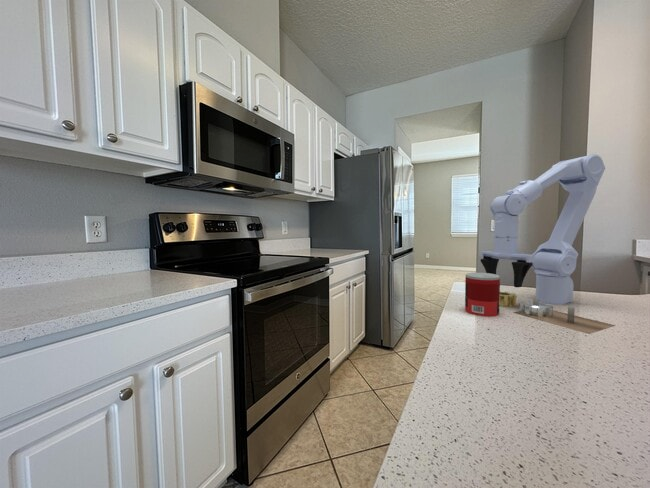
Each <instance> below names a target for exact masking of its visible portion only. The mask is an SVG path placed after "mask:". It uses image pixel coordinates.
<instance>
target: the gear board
mask: <svg viewBox="0 0 650 488" xmlns="http://www.w3.org/2000/svg"><path fill="white" fill-rule="evenodd" d="M532 301H533V305H536V306H539V303H540V301H539V300H536V298H534V299H532ZM575 309H576V307H573V306H572V307H571V306H568V307H567V313H565V312H561V311H558V310H554V309H553V315H552V317H546V316H544V317H543V318H541V317H537V316H533V315H530V316H528V315H525V313H520V312H519V310H517V311H514V312H513V311H512V313H513V314H517V315H521V316H524V317H527V318H531V319H534V320H539V321H541V322H545V323H548V324H552V325H555V326H559V327H563V328H566V329H571V330H574V331H578V332H581V333H583V334H584V333H585V334H589V335H591V334H594V333H597V332H600V331H602V330H606V329H610V328H613V327H615V326H616V325H615V324H611V323H608V322H603V321H599V320H596V319H591V318H587V317H583V316H578V315H575V314H576V313H575V312H576V311H575Z"/></svg>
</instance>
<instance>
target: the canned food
mask: <svg viewBox="0 0 650 488" xmlns="http://www.w3.org/2000/svg"><path fill="white" fill-rule="evenodd" d="M500 276H501V275H498V274H497V273H496V274H490V273H486V272H469V273H468V272H467V273H465V279H464V281H465V283H464V285H465V286H464V287H465V290H464V292H465V293H464V297H465V299H464V300H465V301H464V311H465V312H466V313H468V314H471V315H475V316H479V317H486V318H487V317H488V318H490V317H497V316H499V315H500V305H499V299H500V292H501V291H500V290H501V289H500V288H501V277H500Z"/></svg>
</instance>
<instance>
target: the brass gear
mask: <svg viewBox="0 0 650 488" xmlns="http://www.w3.org/2000/svg"><path fill="white" fill-rule="evenodd" d="M517 296H518V295H517V294H516V293H514V292H513V293H511V292H509V291H500V299H499V307H508V308H513V307H517Z"/></svg>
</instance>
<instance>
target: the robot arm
mask: <svg viewBox="0 0 650 488" xmlns="http://www.w3.org/2000/svg"><path fill="white" fill-rule="evenodd" d="M605 170H606V166H605V164H604V161H603V158H602V157H601V156H600V155H599V154H597V153H590V154H588V155H585V156H580V157H576V158H572V159H568V160H567V159H566V160H561V161H558V162H557V163H555V164H553V165H552V166H551V168H549V169H548V170H546V171H545V172H544V173H543V174H541V175H540V176H538V177H537V178H536V179H534V180H530V179H529V180H522V181H520V182H519V183H518V184H519V185H518V186H516V187H515V188H513V189H508V190H507V191H506V194H504V195H500V196H497V197H495V198H494V199H493V201H492V202H491V205H489V210H490V212H491V214H492V216H493V217H492V220H493V222H494V228H493V250H480V251H479V257H480V258H481V259H480V262H481V264H482V266H483V268H484V270H485V273H490V274H496V275H497V268H498V265H499V261H500V260H506V261H507V260H508V261H512V262H511V266H512V271H513V286H514V288H521V287H522V286H523V283H524V280H525V277H526V275H527V274H528V273H529V272H528V271H530V268H532V269H533V270H534V271H533V272H534V273H535V274H536V275H535V277H536V279H535V299H536V300H539V303H545V304H548V305H550V304H551V305H566V304H568V303H573V302H574V281H573V279H572V278H571V275H572V274H573V273H574V272H575V270H576V268H577V259H578V257H579V253H578V251H577V250H576V249H575V248H574V247H573V243H574V241H575V239H576V237H577V236H578V235H577V234H578V233H579V230H580V228H581V226H582V224H583V221H584V219H585V218H586V214H587V213H588V211H589V209H590V206H591V204H592V202H593V199H594V197H595V195H596V193H597V188H598V186H599V183H600V181H601V179H602V177H603V174H604V172H605ZM557 182H558V183H559V184H560V185H561V187H562V188H563V189H564V190H565V191H566V192H568V193H569V194H568V196H567V200H566V201H565V203H564V205H563V207H562V210H561V213H560V214H559V216H558V219H557V221H556V223H555V226H554V228H553V230H552V232H551V234H550V237H549V239H548V240H547V241H546V242H543V243H540V245H538V247H537V249H536V250H535V251H534V252H533V253H532V254H527V253H520V252H518V250H519V249H518V245H519V244H518V243H519V238H518V237H519V217H520V216H519V215H520V214H522V213H523V212H524V210H525V207H526V206H527V205H529V204H530V203H532V202H533V201H535V200H536V199H538V198H540V197H541V196H542V193H543V190H545V189H546V188H548V187H550V186H551V185H553V184H555V183H557Z"/></svg>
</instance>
